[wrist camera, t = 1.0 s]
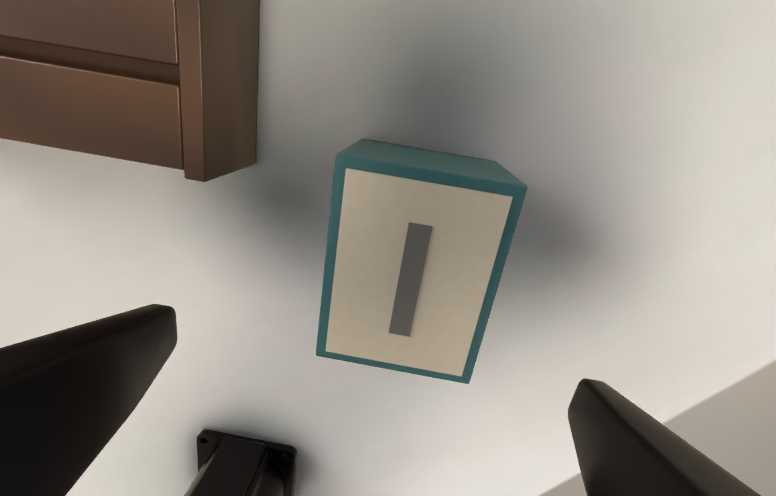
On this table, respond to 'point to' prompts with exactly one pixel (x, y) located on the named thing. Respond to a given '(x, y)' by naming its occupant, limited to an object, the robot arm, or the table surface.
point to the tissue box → (414, 257)
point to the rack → (134, 80)
